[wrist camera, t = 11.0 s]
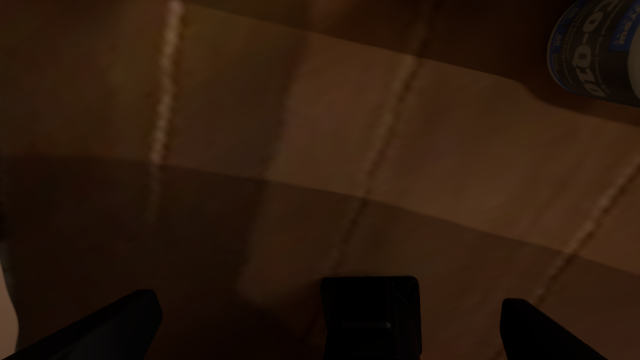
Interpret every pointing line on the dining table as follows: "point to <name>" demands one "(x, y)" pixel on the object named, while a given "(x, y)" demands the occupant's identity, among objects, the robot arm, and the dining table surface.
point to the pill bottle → (598, 50)
